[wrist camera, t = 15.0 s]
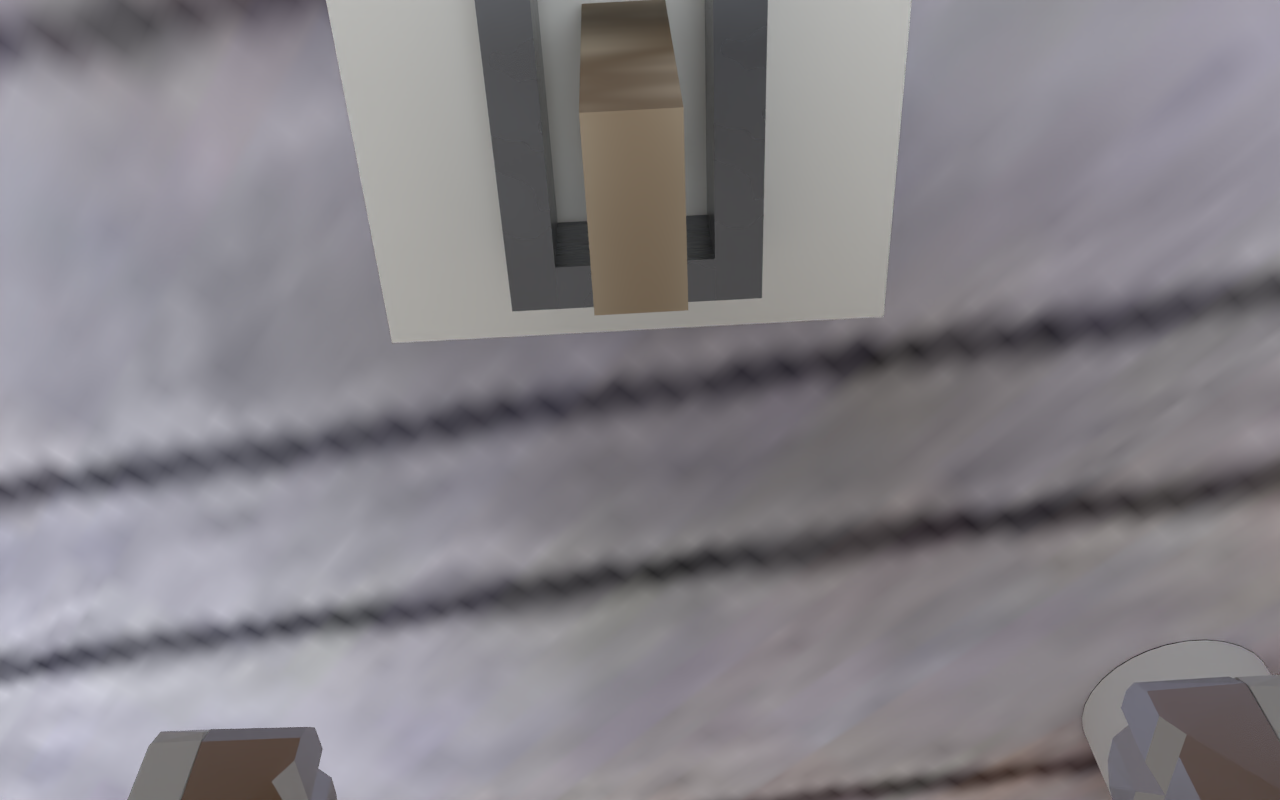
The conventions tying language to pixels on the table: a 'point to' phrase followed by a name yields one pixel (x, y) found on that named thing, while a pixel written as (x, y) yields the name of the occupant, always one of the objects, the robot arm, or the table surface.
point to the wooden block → (633, 158)
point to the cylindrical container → (1158, 665)
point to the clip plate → (465, 172)
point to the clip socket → (559, 252)
